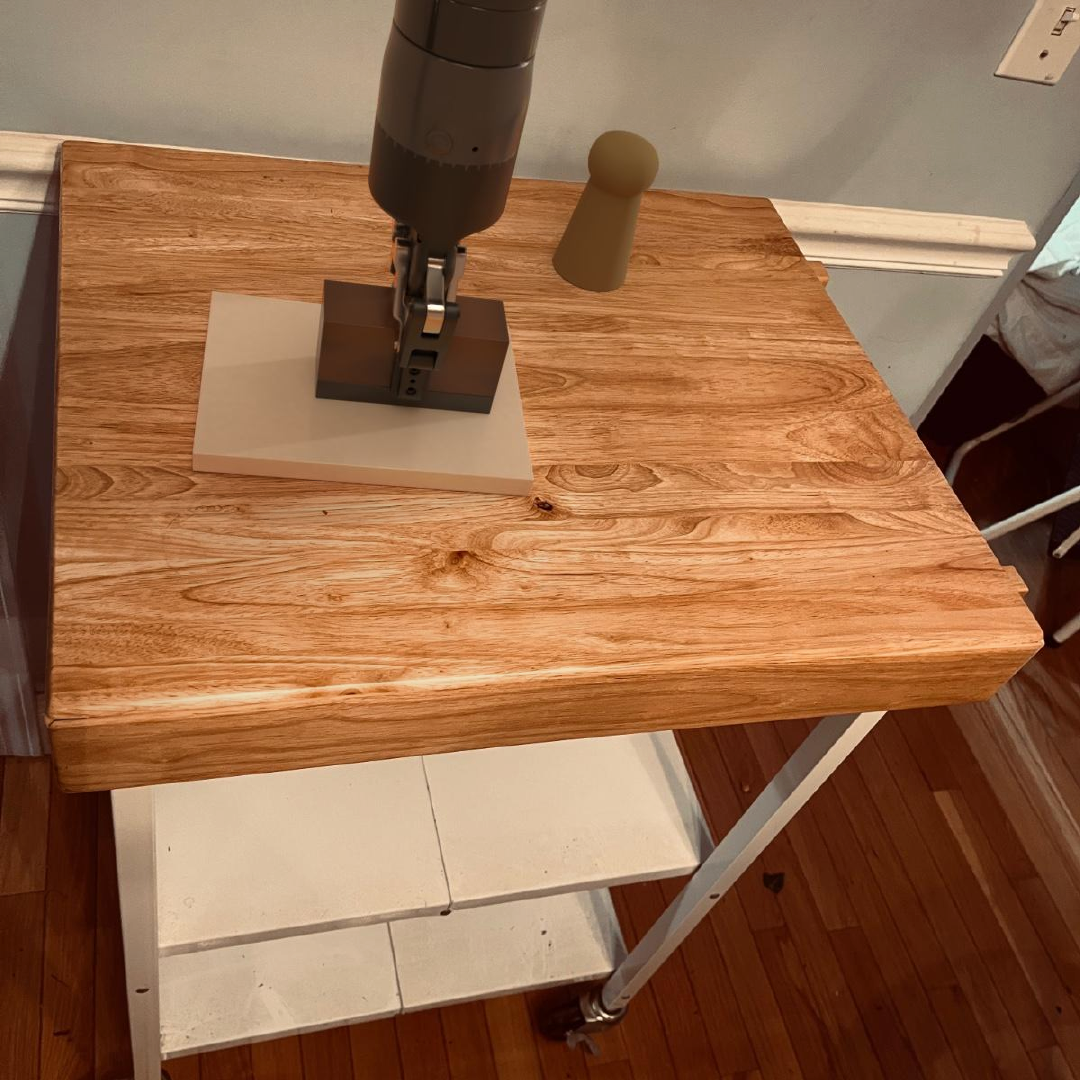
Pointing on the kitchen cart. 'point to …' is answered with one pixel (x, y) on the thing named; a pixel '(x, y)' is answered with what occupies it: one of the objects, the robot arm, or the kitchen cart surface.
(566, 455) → the kitchen cart surface
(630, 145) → the olive brown pawn
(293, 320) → the tile
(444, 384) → the dark brown block
